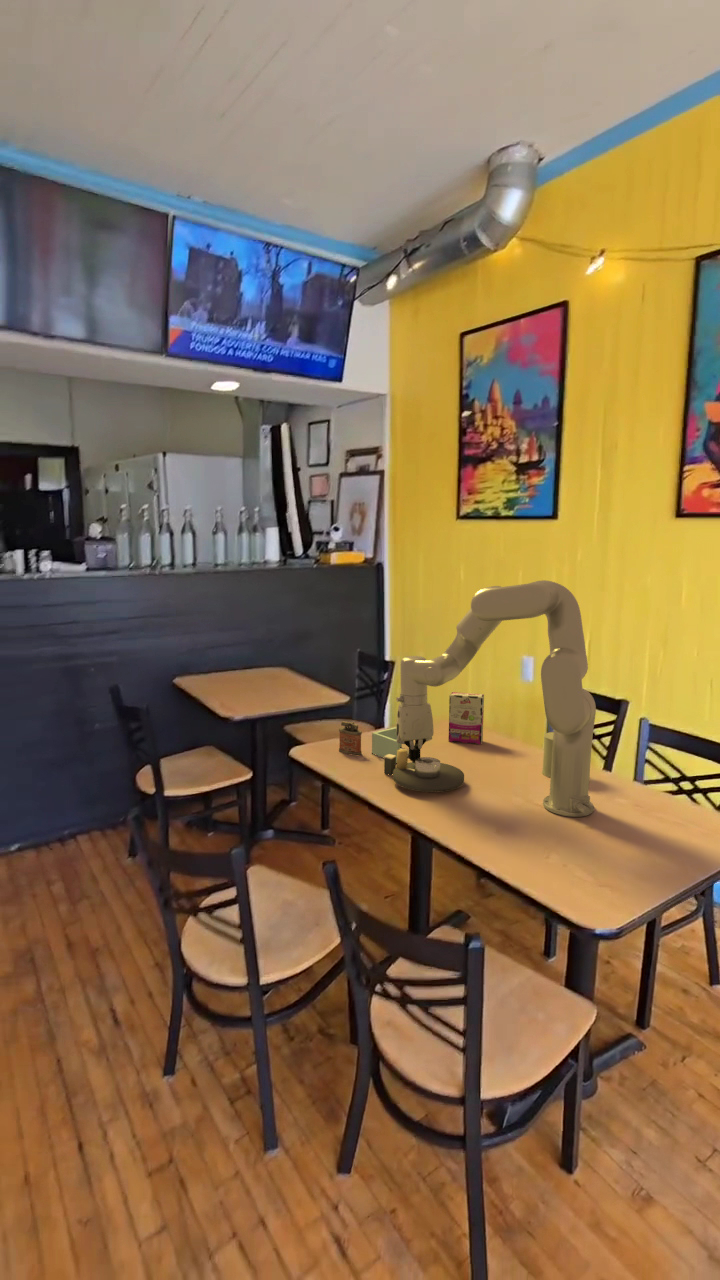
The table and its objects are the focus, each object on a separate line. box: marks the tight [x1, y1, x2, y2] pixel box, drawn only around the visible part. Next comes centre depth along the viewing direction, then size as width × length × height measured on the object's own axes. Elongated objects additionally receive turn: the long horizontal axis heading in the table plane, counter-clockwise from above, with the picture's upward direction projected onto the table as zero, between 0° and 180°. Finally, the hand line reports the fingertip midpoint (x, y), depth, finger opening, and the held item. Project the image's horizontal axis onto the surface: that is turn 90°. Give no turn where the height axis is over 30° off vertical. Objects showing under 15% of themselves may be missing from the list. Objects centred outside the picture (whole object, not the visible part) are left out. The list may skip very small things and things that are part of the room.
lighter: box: [338, 720, 363, 756], centre depth 218 cm, size 8×3×10 cm, turn 58°
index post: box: [383, 754, 397, 776], centre depth 200 cm, size 3×3×5 cm
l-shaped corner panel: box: [371, 726, 409, 763], centre depth 217 cm, size 12×12×8 cm
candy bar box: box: [448, 691, 485, 745], centre depth 230 cm, size 11×5×16 cm, turn 73°
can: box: [541, 731, 554, 779], centre depth 201 cm, size 9×9×12 cm
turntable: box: [392, 748, 465, 793], centre depth 192 cm, size 20×20×6 cm
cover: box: [415, 756, 441, 780], centre depth 191 cm, size 7×7×4 cm
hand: (414, 761), depth 198 cm, fingers closed
